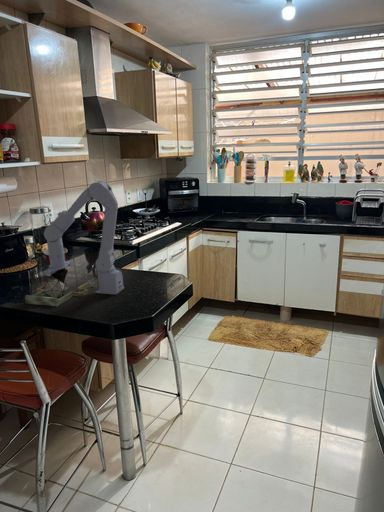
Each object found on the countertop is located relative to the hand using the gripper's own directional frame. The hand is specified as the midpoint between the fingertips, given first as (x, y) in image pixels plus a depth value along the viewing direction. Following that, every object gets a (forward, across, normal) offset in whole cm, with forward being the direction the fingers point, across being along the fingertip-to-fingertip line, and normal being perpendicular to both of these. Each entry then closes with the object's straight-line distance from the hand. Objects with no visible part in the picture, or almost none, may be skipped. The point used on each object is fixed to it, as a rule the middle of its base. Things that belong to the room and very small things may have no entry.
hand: (61, 287), depth 153 cm
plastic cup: (+3, -21, -17) cm, 27 cm away
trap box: (+2, +2, 0) cm, 3 cm away
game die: (+3, +5, +1) cm, 6 cm away
